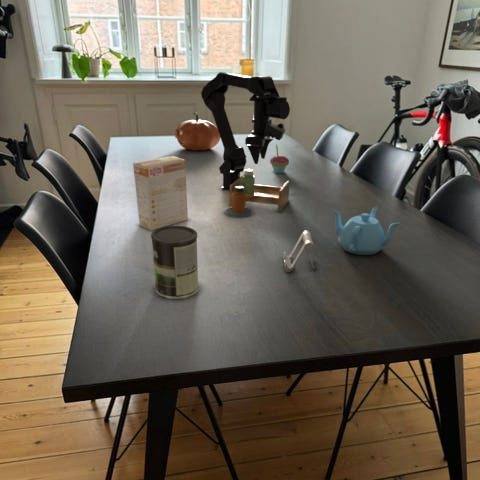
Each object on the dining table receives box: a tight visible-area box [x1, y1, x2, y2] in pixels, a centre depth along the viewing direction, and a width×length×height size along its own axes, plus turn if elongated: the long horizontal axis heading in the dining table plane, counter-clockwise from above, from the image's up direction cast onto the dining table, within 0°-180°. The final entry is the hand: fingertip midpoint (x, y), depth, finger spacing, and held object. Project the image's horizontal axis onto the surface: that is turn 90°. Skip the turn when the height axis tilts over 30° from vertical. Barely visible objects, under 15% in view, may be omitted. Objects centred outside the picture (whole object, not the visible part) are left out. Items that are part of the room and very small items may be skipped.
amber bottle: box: [232, 186, 247, 213], centre depth 156 cm, size 4×4×8 cm
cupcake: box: [269, 143, 290, 174], centre depth 206 cm, size 9×8×12 cm
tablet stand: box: [282, 230, 315, 273], centre depth 121 cm, size 9×8×8 cm
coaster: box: [225, 206, 253, 218], centre depth 159 cm, size 9×9×1 cm
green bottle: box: [242, 168, 256, 194], centre depth 166 cm, size 4×4×8 cm
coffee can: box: [150, 225, 199, 300], centre depth 106 cm, size 10×10×14 cm
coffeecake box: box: [132, 155, 189, 231], centre depth 144 cm, size 15×7×20 cm, turn 134°
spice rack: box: [229, 175, 291, 213], centre depth 167 cm, size 19×14×8 cm
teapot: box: [331, 206, 402, 256], centre depth 132 cm, size 15×15×10 cm
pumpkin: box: [174, 111, 221, 152], centre depth 245 cm, size 25×25×19 cm
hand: (259, 161), depth 170 cm, fingers open, 9 cm apart
